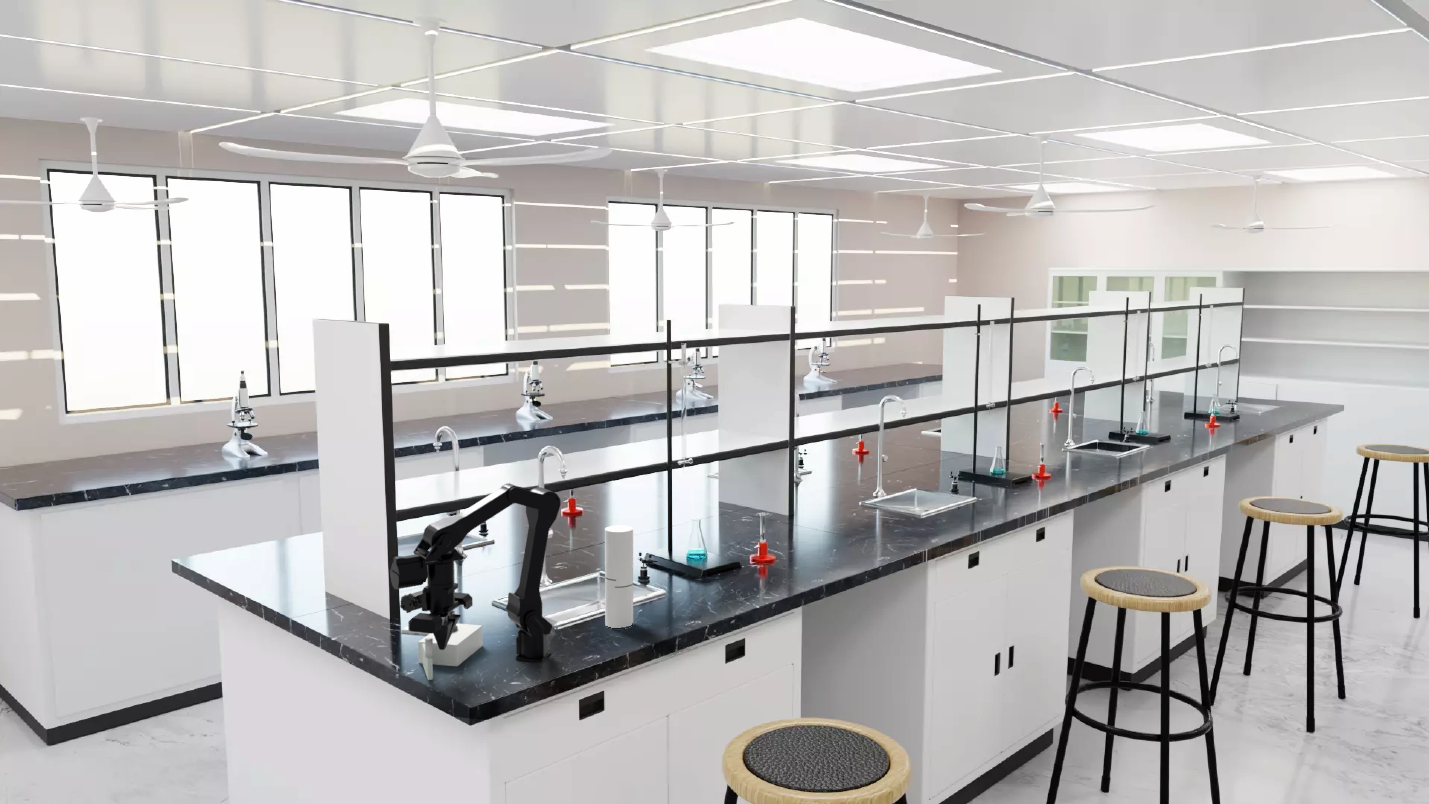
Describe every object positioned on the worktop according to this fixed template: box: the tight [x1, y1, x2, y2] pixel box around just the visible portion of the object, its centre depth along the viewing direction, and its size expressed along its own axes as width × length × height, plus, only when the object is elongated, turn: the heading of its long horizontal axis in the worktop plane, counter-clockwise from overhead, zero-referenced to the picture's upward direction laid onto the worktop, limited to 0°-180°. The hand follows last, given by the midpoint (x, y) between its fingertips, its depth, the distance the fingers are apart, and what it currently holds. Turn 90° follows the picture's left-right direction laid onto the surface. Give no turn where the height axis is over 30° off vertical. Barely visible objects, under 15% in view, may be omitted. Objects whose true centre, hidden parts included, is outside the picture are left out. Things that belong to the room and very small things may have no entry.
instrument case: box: [417, 623, 484, 667], centre depth 235 cm, size 10×14×6 cm
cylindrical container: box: [604, 524, 634, 629], centre depth 256 cm, size 7×7×25 cm
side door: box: [421, 638, 434, 681], centre depth 223 cm, size 10×2×9 cm, turn 23°
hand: (442, 649), depth 222 cm, fingers closed
